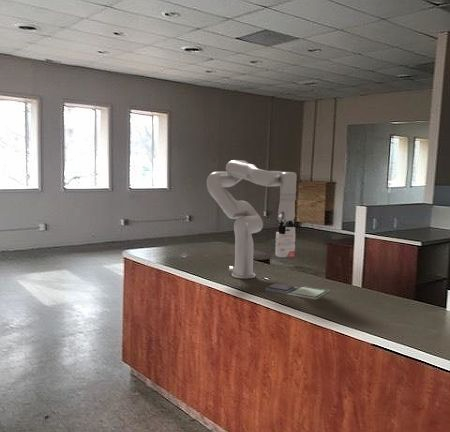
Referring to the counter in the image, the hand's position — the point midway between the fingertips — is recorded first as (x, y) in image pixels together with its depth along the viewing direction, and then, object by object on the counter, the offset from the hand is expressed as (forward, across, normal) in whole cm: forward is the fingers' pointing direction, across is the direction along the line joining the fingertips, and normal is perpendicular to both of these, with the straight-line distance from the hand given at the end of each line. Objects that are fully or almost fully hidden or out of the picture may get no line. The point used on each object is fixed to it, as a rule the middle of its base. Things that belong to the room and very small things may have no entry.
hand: (286, 232), depth 238 cm
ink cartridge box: (+12, 0, 0) cm, 12 cm away
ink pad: (+26, +11, +3) cm, 28 cm away
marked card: (+26, +8, +16) cm, 31 cm away
